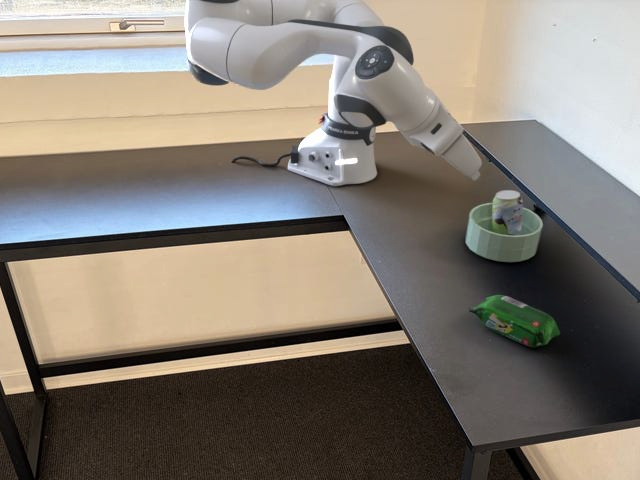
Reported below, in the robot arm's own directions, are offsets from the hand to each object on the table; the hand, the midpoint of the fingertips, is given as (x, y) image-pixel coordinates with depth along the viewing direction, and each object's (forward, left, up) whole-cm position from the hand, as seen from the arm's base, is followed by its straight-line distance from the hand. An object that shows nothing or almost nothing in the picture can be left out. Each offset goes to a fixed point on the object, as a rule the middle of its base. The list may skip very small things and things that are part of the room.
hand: (463, 166), depth 140 cm
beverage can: (+9, +8, -19) cm, 23 cm away
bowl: (+8, +9, -20) cm, 23 cm away
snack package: (+18, -21, -20) cm, 34 cm away
